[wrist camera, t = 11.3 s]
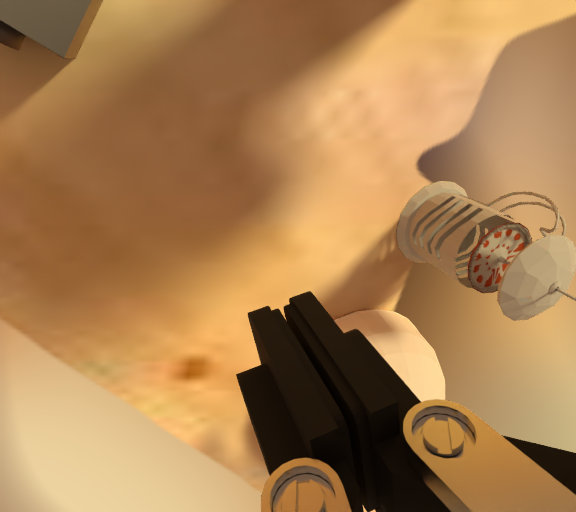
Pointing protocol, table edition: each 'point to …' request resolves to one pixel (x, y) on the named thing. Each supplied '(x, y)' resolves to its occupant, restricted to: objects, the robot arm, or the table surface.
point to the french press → (488, 248)
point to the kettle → (400, 349)
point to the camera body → (47, 23)
